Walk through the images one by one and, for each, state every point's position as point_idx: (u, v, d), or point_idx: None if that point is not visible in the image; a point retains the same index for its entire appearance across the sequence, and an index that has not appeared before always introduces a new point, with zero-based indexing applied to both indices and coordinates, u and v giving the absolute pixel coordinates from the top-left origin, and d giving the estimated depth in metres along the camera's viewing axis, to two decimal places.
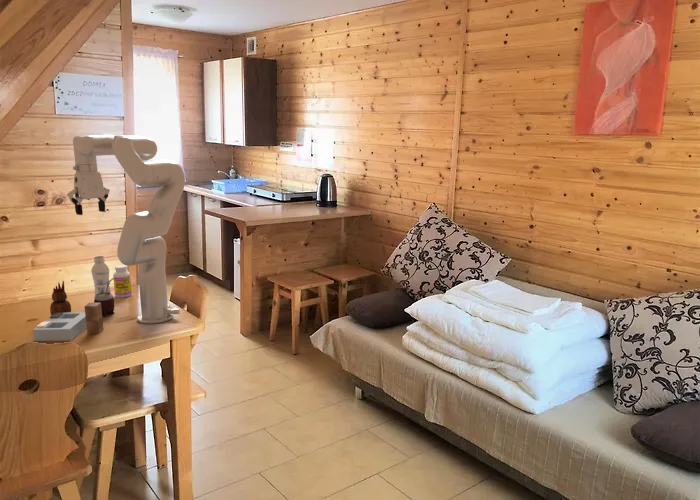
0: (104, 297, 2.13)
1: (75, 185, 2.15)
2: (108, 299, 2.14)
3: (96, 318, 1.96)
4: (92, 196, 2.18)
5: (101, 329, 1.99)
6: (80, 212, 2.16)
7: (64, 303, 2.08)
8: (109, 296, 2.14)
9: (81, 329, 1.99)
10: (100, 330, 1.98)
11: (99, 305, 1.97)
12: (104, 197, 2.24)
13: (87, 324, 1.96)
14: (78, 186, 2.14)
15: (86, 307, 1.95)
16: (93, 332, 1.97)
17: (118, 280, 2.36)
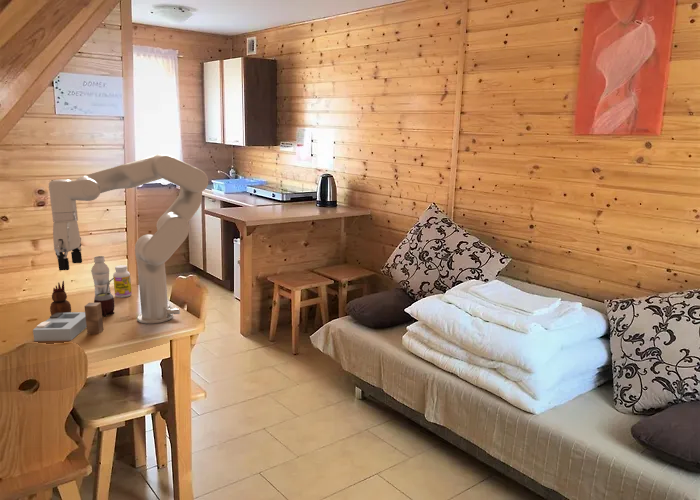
0: (104, 297, 2.13)
1: None
2: (108, 299, 2.14)
3: (96, 318, 1.96)
4: None
5: (101, 329, 1.99)
6: None
7: (64, 303, 2.08)
8: (109, 296, 2.14)
9: (81, 329, 1.99)
10: (100, 330, 1.98)
11: (99, 305, 1.97)
12: None
13: (87, 324, 1.96)
14: None
15: (86, 307, 1.95)
16: (93, 332, 1.97)
17: (118, 280, 2.36)
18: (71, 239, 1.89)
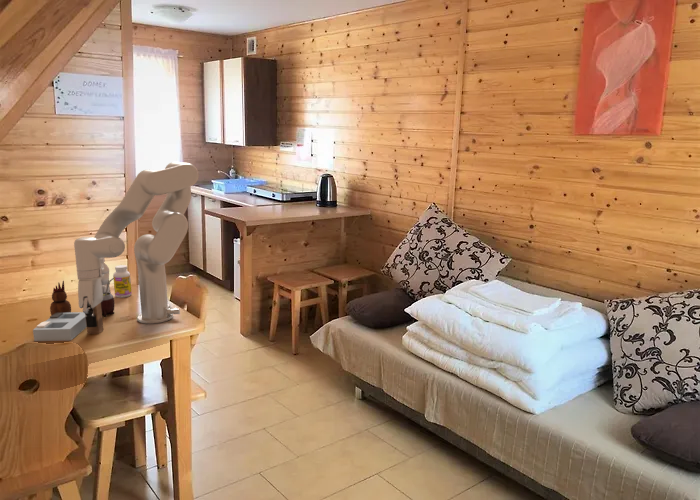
0: (104, 297, 2.13)
1: None
2: (108, 299, 2.14)
3: (96, 318, 1.96)
4: None
5: (101, 329, 1.99)
6: None
7: (64, 303, 2.08)
8: (109, 296, 2.14)
9: (81, 329, 1.99)
10: (100, 330, 1.98)
11: (99, 305, 1.97)
12: None
13: None
14: None
15: None
16: (93, 332, 1.97)
17: (118, 280, 2.36)
18: (95, 296, 1.93)
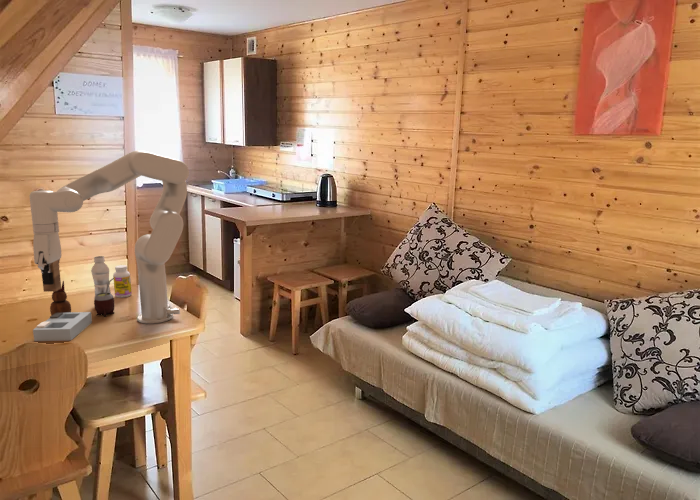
0: (104, 297, 2.13)
1: None
2: (108, 299, 2.14)
3: (53, 275, 1.88)
4: None
5: (58, 287, 1.91)
6: None
7: (64, 303, 2.08)
8: (109, 296, 2.14)
9: (81, 329, 1.99)
10: (57, 288, 1.90)
11: (56, 262, 1.90)
12: None
13: None
14: None
15: None
16: (50, 290, 1.89)
17: (118, 280, 2.36)
18: (52, 251, 1.86)
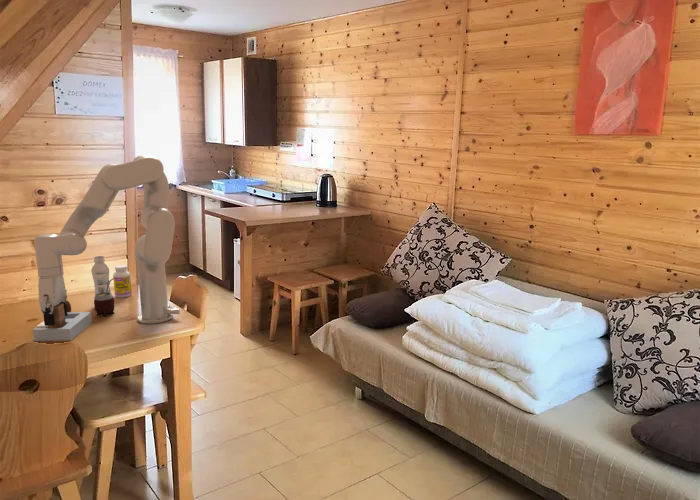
0: (104, 297, 2.13)
1: None
2: (108, 299, 2.14)
3: (58, 319, 1.91)
4: None
5: None
6: None
7: None
8: (109, 296, 2.14)
9: (81, 329, 1.99)
10: None
11: (61, 306, 1.93)
12: None
13: (49, 326, 1.91)
14: None
15: (48, 308, 1.90)
16: None
17: (118, 280, 2.36)
18: (56, 294, 1.89)
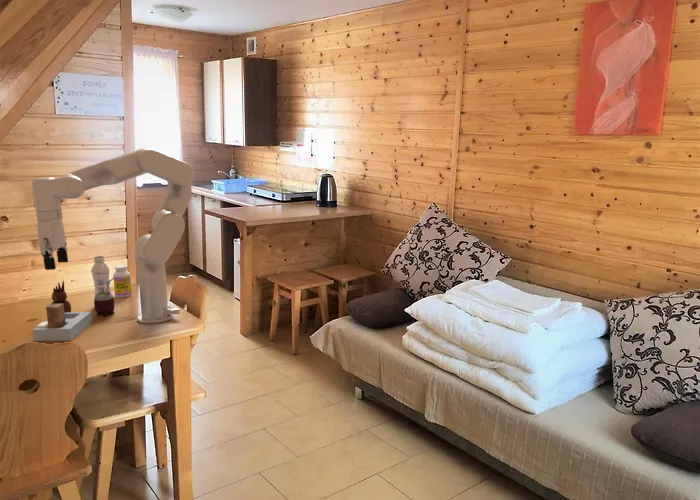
0: (104, 297, 2.13)
1: None
2: (108, 299, 2.14)
3: (58, 319, 1.91)
4: None
5: None
6: None
7: (64, 303, 2.08)
8: (109, 296, 2.14)
9: (81, 329, 1.99)
10: None
11: (61, 306, 1.93)
12: None
13: (49, 326, 1.91)
14: None
15: (48, 308, 1.90)
16: None
17: (118, 280, 2.36)
18: (56, 238, 1.87)
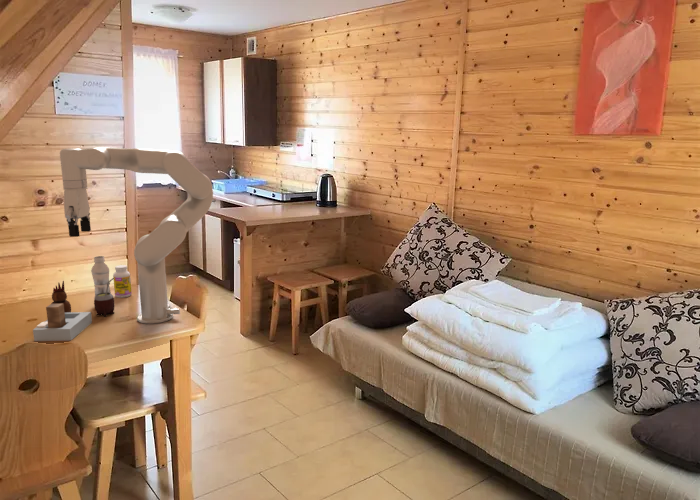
0: (104, 297, 2.13)
1: None
2: (108, 299, 2.14)
3: (58, 319, 1.91)
4: None
5: None
6: None
7: (64, 303, 2.08)
8: (109, 296, 2.14)
9: (81, 329, 1.99)
10: None
11: (61, 306, 1.93)
12: None
13: (49, 326, 1.91)
14: None
15: (48, 308, 1.90)
16: None
17: (118, 280, 2.36)
18: (81, 206, 1.95)
